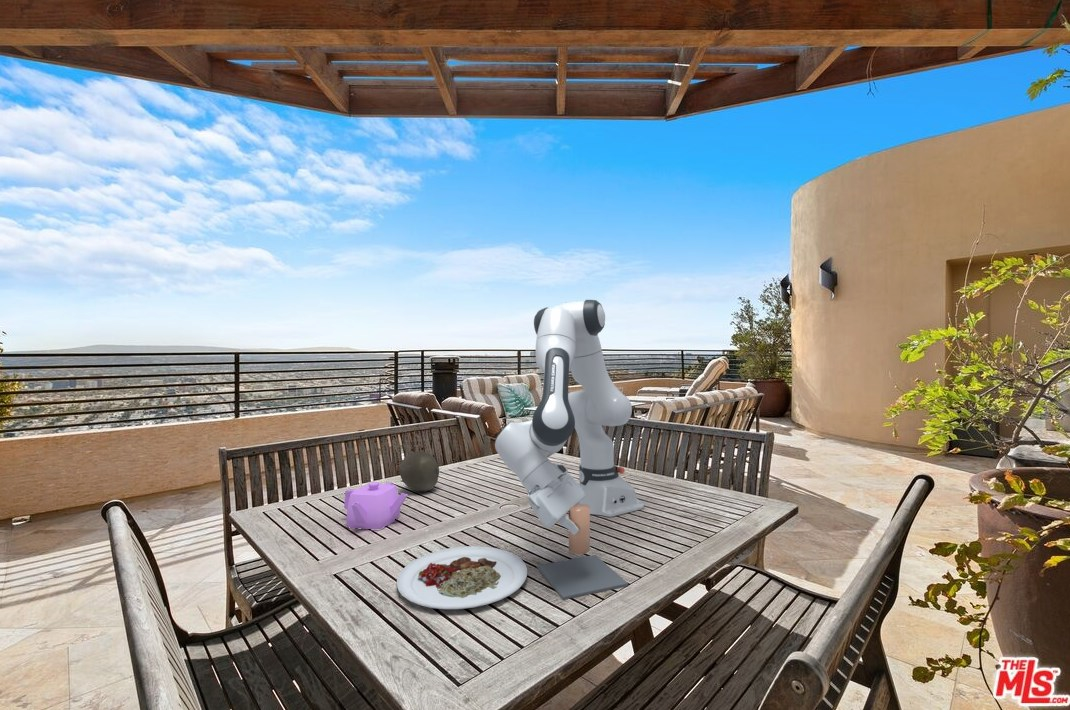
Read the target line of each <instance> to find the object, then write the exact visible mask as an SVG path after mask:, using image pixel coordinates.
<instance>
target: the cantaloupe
mask: <svg viewBox="0 0 1070 710" xmlns="http://www.w3.org/2000/svg"><path fill="white" fill-rule="evenodd" d="M439 467H440V466H439V464H438V463H437V460H436V458H435V457H434V456H433V455H432V454H430V453H429V452H426V451H416V452H411V453H409V454H408V455H406V456H405V457H404V458H403V460H402V461H401V463H400V465H399V475H400V478H401V480H402V482H403V484H405V486H407V487H408V488H409V489H411V490H413V491H415V492H419V491H425V492H428V491H430V490H432V489H433V488H434V487H435V486H436V485H437V483H438V480H439V477H440V476H439V475H440V468H439Z"/></svg>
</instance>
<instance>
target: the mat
mask: <svg viewBox="0 0 1070 710" xmlns="http://www.w3.org/2000/svg"><path fill="white" fill-rule="evenodd" d="M536 568H537V570H538V572H540V574H541V575H542V576H543V577H544V579H545V580H546V581H547V583H549V585H550V586H551V587H552V588H553V590H554V591H555V592H556V593H557V594H558V595H559V597H560V598H561V599H562V600H565V601H566V600H570V599H573V598H578V597H583V596H588V595H592V594H596V593H601V592H607V591H612V590H616V589H621V588H625V587H628V586H629V583H628V582H627V581H626V580H625V579H624V578H623V577H622V576H621V575H619V574H618V573H617V572H616V571H615V570H614V569H612V567H611V566H609V565H608V564H607V563H605V561H603V560H602V559H601V558H600V557H598V556H597V555H596V554H592V555H586V556H580V557H575V558H571V559H565V560H559V561H554V562H548V563H544V564H537V565H536Z"/></svg>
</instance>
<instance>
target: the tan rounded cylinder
mask: <svg viewBox="0 0 1070 710" xmlns="http://www.w3.org/2000/svg"><path fill="white" fill-rule="evenodd" d="M567 515H568V516H569V519H570V520H571V521H572V522H573V523H574V524H575V523H577V524H578V526H579V527H580V530H579V531H578V532H577V533H576V534H575V535H573V534H572V533H571V532H570V530H569V529H568V551H569V552H570V553H572V554H575V555H585V554H588V553H589V552H591V514H590V507H589V506H588V505H585V504H575V505H574V506H573V507H572V508H570V511H568V513H567Z"/></svg>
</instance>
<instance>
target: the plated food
mask: <svg viewBox="0 0 1070 710" xmlns="http://www.w3.org/2000/svg"><path fill="white" fill-rule="evenodd" d="M527 576H528V567H527V565H526V563H525V562H524V561H523V560H522V558H520V557H519V556H518V555H516V554H514V553H512V552H510V551H507V550H504V549H502V548H501V549H500V548H496V547H491V546H481V545H480V546H478V545H469V546H467V545H466V546H456V547H449V548H443V549H440V550H436V551H433V552H429V553H427V554H424V555H422V556H420V557H418V558H415V559H414V560H413V561H411V562H409V563H408V564H407V565H405V567H404V568H402V569H401V571H400V572H399V574H398V575H397V578H396V579H397V580H396V587H397V590H398V592H399V593H400V595H401V596H402V597H403V598H405V599H406V600H408V602H411V603H412V604H416V605H419V606H423V607H424V608H425V607H426V608H430V609H439V610H463V609H471V608H478V607H483V606H485V605H489V604H493V603H495V602H498V601H501V600H503V599H505V598H507V597H509V596H511V595H512V594H514V593H515V592H516V591H518V590H519V589H520V588H521V587H522V586H523V585H524V584H525V582H526V580H527V578H528V577H527Z"/></svg>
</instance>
